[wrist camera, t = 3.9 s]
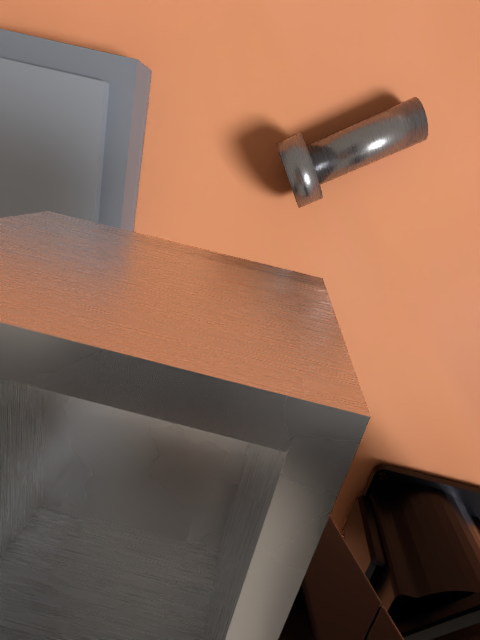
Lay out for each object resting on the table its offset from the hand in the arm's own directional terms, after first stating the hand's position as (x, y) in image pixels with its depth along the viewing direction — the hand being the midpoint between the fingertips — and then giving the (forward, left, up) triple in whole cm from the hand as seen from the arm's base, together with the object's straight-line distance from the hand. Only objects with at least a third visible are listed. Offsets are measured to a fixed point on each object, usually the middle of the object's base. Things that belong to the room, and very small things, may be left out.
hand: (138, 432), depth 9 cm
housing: (0, 0, -1) cm, 1 cm away
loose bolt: (-4, -8, -11) cm, 14 cm away
